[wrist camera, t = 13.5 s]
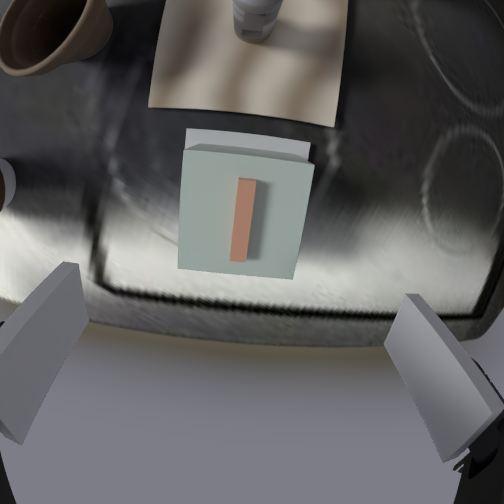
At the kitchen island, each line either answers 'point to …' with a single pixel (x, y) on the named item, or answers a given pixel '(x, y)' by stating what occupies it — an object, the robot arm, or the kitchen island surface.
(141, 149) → the kitchen island surface
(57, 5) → the flower pot
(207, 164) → the cube with orange handle
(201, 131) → the pad
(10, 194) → the coffee cup
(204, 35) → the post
